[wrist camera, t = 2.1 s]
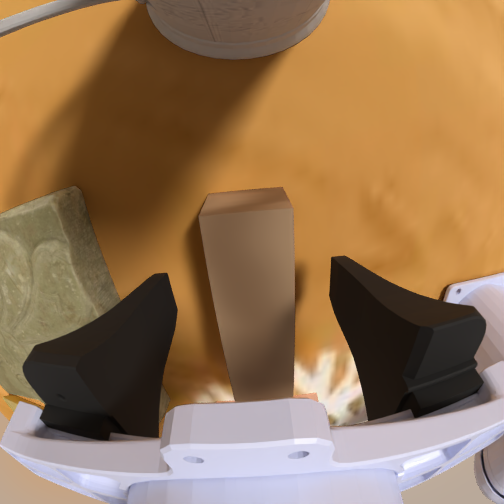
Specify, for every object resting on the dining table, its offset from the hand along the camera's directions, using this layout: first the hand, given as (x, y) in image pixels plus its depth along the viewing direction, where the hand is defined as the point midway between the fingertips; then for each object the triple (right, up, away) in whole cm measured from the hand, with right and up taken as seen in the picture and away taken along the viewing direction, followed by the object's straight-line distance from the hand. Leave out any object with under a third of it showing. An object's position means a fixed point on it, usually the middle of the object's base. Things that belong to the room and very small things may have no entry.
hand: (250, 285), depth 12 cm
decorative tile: (-18, -4, +5) cm, 19 cm away
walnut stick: (0, -1, +4) cm, 4 cm away
